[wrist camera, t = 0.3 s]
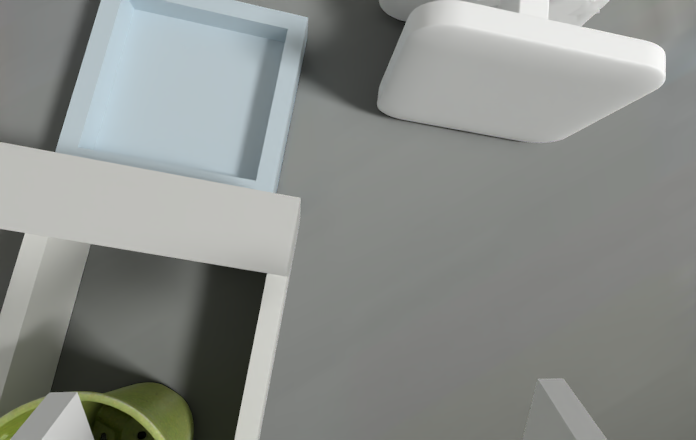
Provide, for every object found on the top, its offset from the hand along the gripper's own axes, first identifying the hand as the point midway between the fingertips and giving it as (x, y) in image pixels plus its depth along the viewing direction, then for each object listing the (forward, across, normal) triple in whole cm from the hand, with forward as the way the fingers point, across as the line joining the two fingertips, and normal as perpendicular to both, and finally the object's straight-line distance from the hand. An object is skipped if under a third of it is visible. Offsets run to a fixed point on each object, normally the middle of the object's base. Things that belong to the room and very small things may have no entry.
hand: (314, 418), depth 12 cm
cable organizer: (+25, -11, -8) cm, 28 cm away
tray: (+21, +9, -7) cm, 24 cm away
